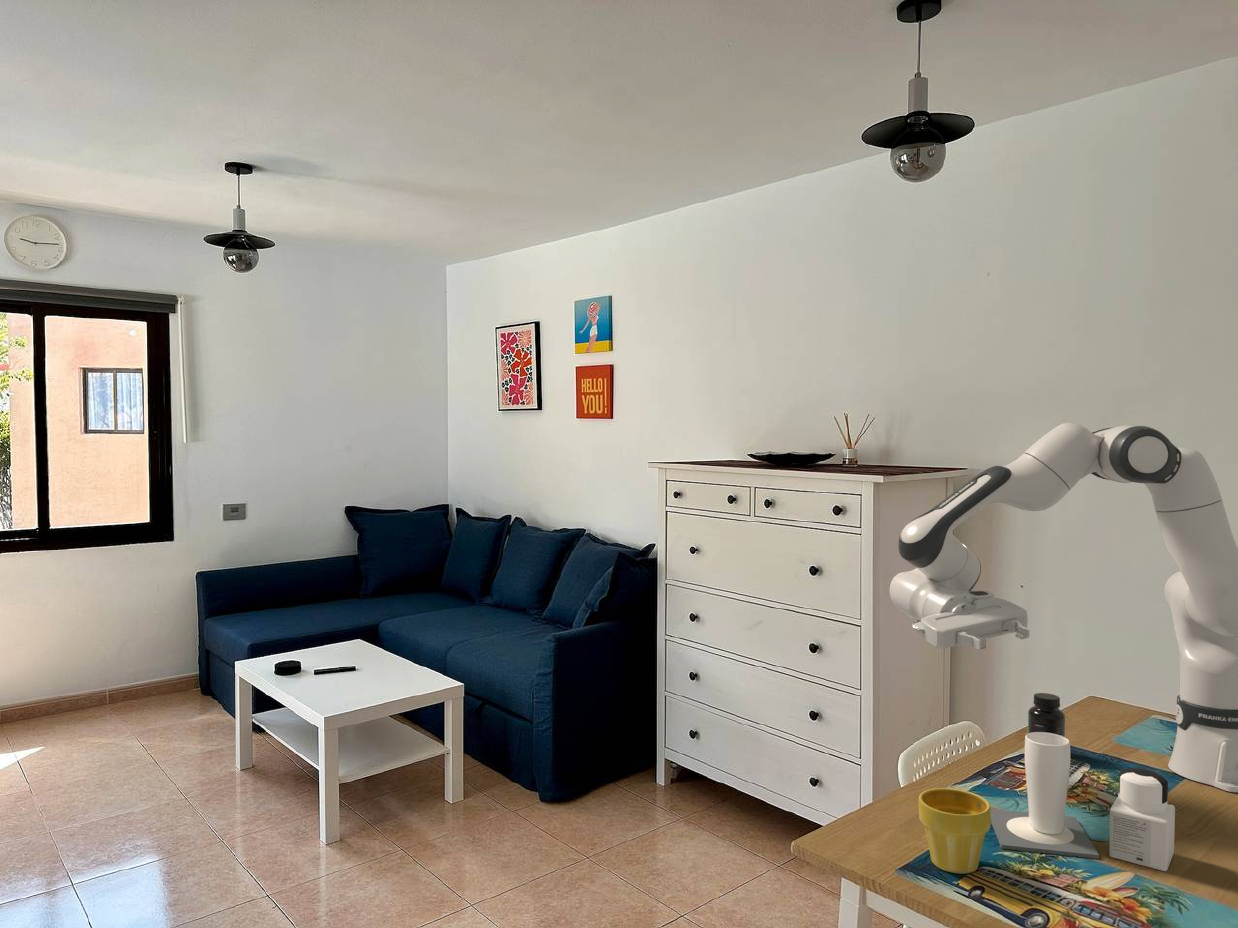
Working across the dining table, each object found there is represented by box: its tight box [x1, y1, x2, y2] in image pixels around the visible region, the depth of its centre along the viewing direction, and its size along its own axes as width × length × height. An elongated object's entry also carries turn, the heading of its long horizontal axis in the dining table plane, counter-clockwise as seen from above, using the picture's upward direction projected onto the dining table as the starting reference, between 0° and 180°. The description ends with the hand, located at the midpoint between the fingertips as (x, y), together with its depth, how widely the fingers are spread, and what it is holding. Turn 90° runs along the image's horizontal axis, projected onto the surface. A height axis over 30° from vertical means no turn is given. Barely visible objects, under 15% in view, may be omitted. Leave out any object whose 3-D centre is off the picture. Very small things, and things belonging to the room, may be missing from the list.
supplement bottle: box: [1027, 692, 1066, 738], centre depth 180 cm, size 7×7×12 cm
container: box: [1108, 767, 1176, 872], centre depth 136 cm, size 8×8×13 cm
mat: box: [991, 808, 1100, 860], centre depth 144 cm, size 14×14×1 cm
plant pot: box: [918, 787, 992, 875], centre depth 134 cm, size 10×10×10 cm
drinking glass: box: [1023, 732, 1071, 834], centre depth 144 cm, size 7×7×15 cm
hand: (1004, 639), depth 155 cm, fingers open, 8 cm apart
